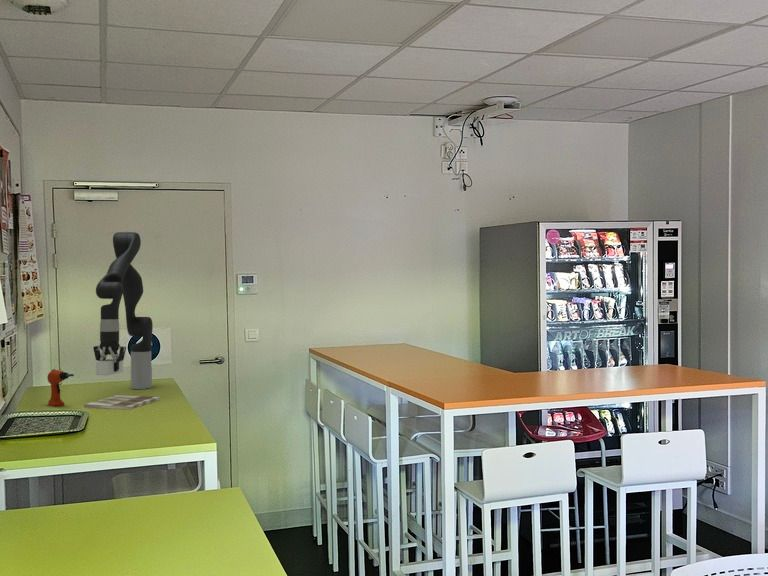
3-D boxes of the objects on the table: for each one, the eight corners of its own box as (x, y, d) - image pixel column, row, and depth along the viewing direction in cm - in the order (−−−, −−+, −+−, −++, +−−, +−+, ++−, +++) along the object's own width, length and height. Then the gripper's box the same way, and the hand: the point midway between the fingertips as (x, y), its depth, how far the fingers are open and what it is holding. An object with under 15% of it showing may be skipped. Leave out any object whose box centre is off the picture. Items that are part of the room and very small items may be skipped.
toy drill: (69, 406, 303) (66, 368, 304) (45, 407, 315) (43, 370, 315) (81, 404, 306) (78, 367, 307) (57, 405, 318) (54, 369, 319)
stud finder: (112, 371, 326) (112, 358, 326) (122, 371, 325) (122, 358, 325) (96, 375, 315) (96, 361, 314) (107, 375, 314) (107, 361, 313)
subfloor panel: (116, 397, 333) (116, 394, 333) (159, 399, 329) (159, 396, 329) (84, 407, 309) (84, 404, 309) (129, 409, 305) (129, 406, 305)
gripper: (130, 329, 322) (130, 370, 322) (99, 329, 325) (99, 369, 325) (120, 331, 314) (120, 372, 315) (88, 330, 317) (88, 371, 318)
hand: (109, 371), depth 320 cm, fingers closed on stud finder, 5 cm apart
